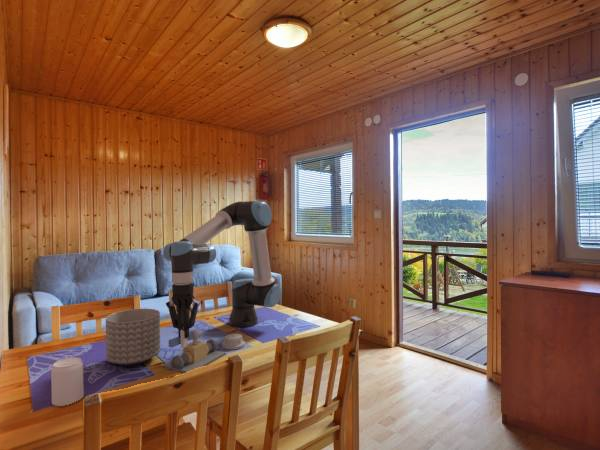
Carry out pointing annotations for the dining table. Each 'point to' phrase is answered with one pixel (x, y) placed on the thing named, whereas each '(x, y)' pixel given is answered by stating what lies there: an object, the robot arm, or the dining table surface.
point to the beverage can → (67, 381)
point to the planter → (132, 336)
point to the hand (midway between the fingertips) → (184, 346)
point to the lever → (192, 335)
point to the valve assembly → (195, 356)
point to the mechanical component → (233, 342)
